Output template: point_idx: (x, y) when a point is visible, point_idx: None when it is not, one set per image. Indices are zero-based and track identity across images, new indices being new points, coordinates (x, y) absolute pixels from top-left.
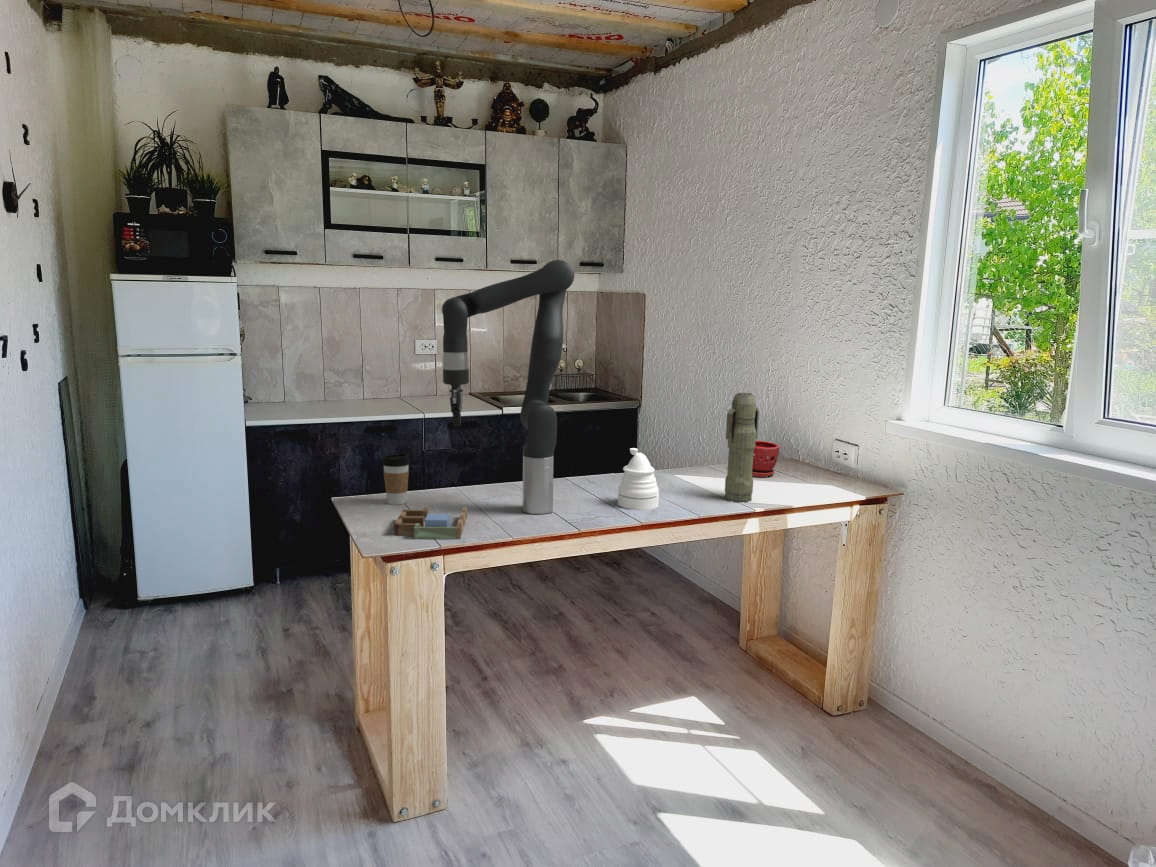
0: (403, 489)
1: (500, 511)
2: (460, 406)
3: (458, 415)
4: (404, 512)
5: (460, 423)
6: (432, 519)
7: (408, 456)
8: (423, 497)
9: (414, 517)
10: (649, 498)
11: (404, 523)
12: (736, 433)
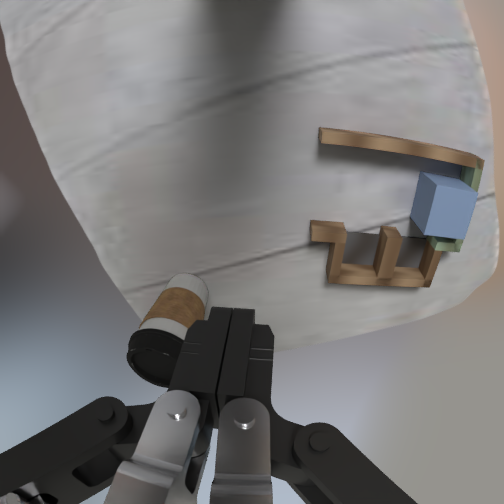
0: (193, 298)
1: (259, 39)
2: (270, 481)
3: (269, 397)
4: (350, 278)
5: (248, 320)
6: (466, 224)
7: (153, 347)
8: (142, 242)
9: (393, 256)
10: None
11: (428, 270)
12: None
